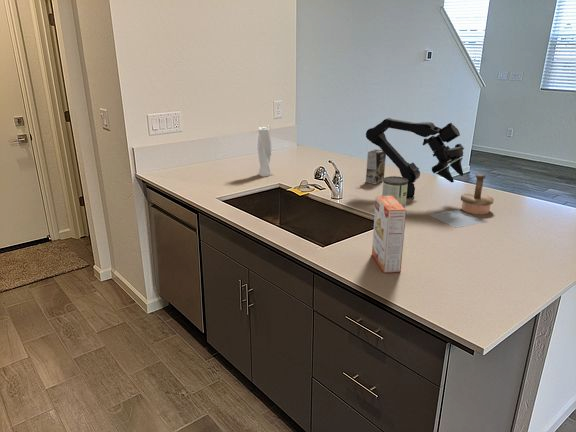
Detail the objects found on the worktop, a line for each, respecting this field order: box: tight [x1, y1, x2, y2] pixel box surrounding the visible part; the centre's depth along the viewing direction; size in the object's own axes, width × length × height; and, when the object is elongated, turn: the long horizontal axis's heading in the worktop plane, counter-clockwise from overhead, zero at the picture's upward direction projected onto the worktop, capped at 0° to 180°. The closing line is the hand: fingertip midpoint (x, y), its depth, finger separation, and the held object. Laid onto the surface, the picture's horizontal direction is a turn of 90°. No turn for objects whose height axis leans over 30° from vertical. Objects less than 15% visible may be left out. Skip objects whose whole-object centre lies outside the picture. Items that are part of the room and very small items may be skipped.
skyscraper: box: [256, 124, 274, 178], centre depth 242 cm, size 8×8×28 cm
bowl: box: [461, 201, 491, 215], centre depth 193 cm, size 11×11×4 cm
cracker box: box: [371, 195, 407, 274], centre depth 142 cm, size 14×6×21 cm, turn 5°
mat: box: [428, 209, 487, 229], centre depth 184 cm, size 16×16×1 cm
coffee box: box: [365, 149, 387, 185], centre depth 233 cm, size 9×6×16 cm
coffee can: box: [381, 175, 408, 209], centre depth 190 cm, size 10×10×14 cm
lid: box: [460, 173, 495, 206], centre depth 190 cm, size 13×13×11 cm
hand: (457, 178), depth 196 cm, fingers open, 9 cm apart
